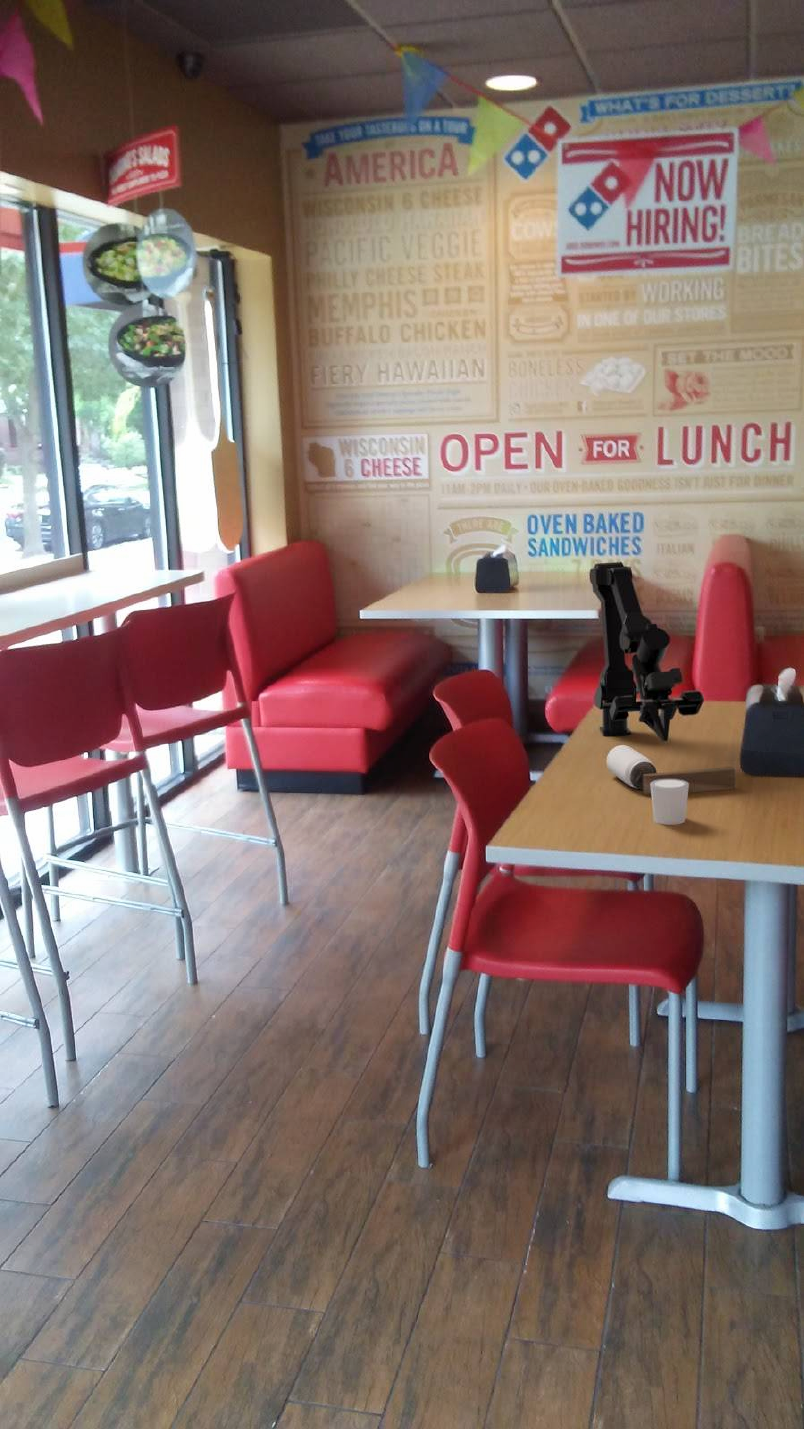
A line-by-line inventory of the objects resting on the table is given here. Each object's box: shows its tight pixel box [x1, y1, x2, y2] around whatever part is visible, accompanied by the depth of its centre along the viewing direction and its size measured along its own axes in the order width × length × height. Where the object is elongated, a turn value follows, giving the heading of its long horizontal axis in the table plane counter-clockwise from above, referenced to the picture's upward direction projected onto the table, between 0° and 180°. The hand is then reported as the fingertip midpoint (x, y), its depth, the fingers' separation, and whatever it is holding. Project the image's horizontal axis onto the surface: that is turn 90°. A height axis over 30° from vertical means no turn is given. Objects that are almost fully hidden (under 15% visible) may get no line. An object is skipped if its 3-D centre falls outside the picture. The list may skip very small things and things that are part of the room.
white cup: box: [650, 779, 689, 826], centre depth 235 cm, size 7×7×7 cm
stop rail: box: [642, 766, 736, 797], centre depth 252 cm, size 2×18×4 cm, turn 97°
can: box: [606, 744, 658, 790], centre depth 259 cm, size 6×6×12 cm
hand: (665, 740), depth 264 cm, fingers closed
